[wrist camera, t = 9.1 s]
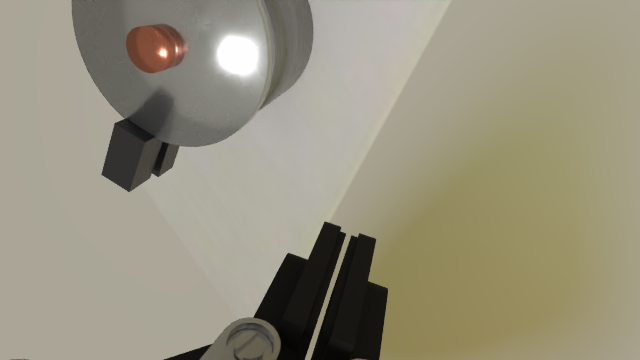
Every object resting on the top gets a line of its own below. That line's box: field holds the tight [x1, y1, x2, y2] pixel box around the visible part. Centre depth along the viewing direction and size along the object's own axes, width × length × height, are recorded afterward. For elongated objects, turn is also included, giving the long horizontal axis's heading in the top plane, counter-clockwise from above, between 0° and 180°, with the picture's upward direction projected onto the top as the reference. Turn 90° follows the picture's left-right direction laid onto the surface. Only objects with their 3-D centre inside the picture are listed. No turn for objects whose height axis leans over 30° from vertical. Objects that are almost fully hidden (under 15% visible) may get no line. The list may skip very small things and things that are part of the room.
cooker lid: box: [72, 0, 275, 192], centre depth 30 cm, size 22×17×4 cm
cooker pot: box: [152, 0, 313, 177], centre depth 36 cm, size 26×16×12 cm, turn 152°
